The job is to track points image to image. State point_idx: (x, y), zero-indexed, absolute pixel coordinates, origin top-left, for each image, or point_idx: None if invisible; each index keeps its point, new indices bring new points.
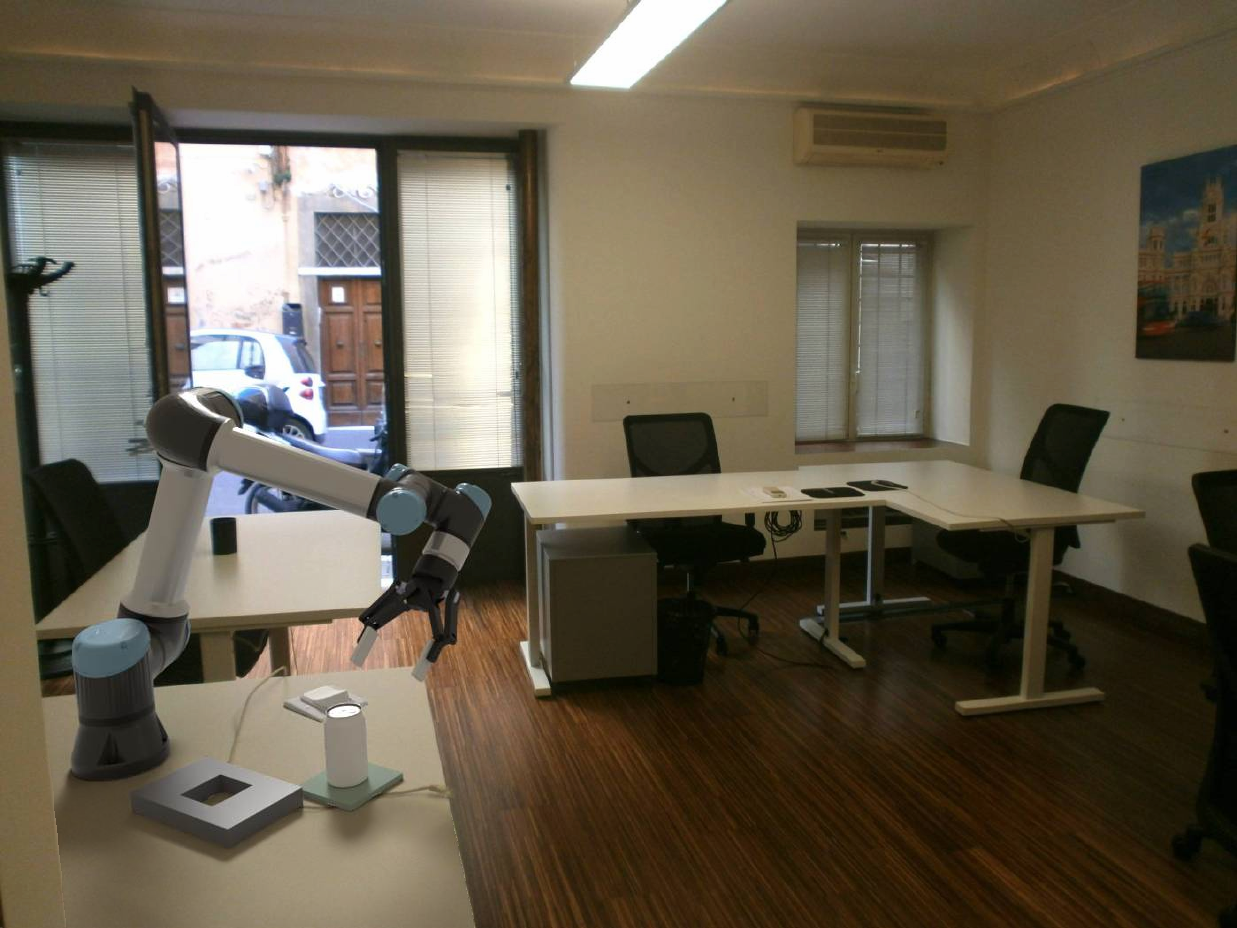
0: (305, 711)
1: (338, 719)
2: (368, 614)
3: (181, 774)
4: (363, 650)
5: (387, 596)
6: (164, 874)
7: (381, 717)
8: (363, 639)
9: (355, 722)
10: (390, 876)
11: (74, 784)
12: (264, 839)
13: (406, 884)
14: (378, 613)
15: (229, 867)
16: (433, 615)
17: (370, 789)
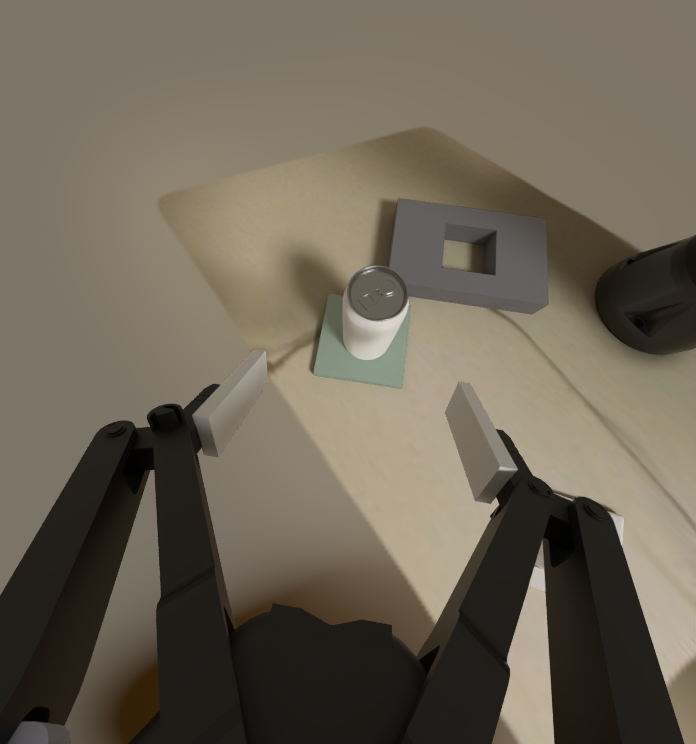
0: (564, 497)
1: (368, 269)
2: (579, 531)
3: (534, 262)
4: (462, 421)
5: (612, 706)
6: (415, 175)
7: (449, 530)
8: (481, 424)
9: (346, 288)
10: (233, 223)
11: (632, 253)
12: (375, 234)
13: (214, 218)
14: (530, 535)
15: (373, 195)
16: (173, 530)
17: (327, 327)
